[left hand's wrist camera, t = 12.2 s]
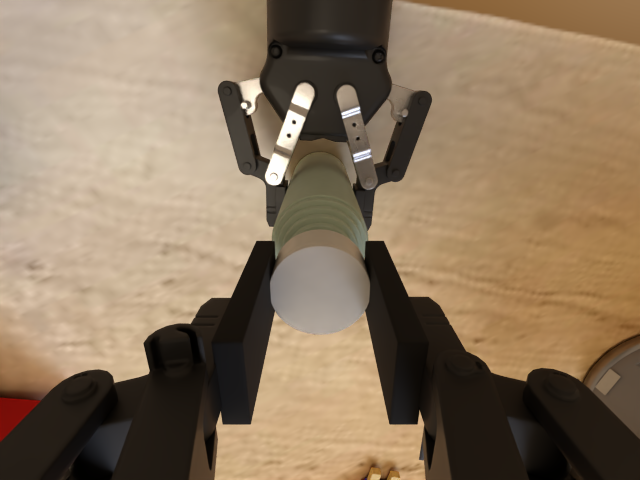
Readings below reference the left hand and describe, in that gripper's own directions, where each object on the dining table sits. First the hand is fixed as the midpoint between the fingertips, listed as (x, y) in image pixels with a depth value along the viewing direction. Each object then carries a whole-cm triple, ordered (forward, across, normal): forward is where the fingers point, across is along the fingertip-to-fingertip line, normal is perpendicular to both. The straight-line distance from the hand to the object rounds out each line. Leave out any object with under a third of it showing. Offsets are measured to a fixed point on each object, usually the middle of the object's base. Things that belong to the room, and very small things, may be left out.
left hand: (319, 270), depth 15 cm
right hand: (+12, 0, -3) cm, 12 cm away
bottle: (+18, 0, 0) cm, 18 cm away
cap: (-2, 0, 0) cm, 2 cm away
